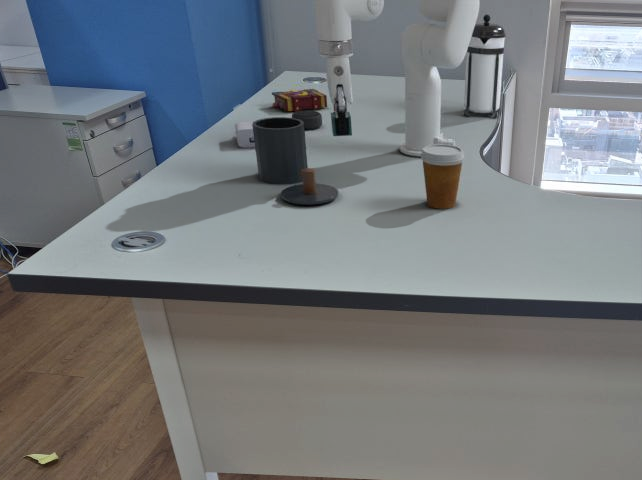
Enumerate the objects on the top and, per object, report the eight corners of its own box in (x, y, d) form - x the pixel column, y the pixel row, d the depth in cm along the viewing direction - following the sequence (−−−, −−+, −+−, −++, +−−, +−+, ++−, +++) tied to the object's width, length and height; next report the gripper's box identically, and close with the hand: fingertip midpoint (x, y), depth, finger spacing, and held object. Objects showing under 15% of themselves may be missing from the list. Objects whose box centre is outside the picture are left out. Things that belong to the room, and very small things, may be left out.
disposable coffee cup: (431, 214, 140) (432, 157, 134) (413, 200, 147) (413, 145, 140) (470, 208, 144) (473, 153, 137) (450, 194, 151) (452, 141, 144)
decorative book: (328, 108, 220) (327, 93, 217) (282, 113, 212) (281, 97, 210) (314, 102, 228) (313, 87, 225) (269, 106, 220) (268, 90, 217)
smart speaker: (325, 124, 202) (324, 110, 200) (318, 131, 195) (317, 117, 193) (297, 122, 203) (296, 109, 201) (289, 129, 196) (287, 115, 193)
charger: (268, 132, 192) (273, 146, 180) (235, 134, 189) (238, 147, 177) (266, 115, 189) (271, 128, 177) (233, 117, 187) (236, 129, 175)
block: (350, 130, 158) (349, 111, 156) (352, 135, 155) (350, 116, 152) (332, 131, 157) (330, 112, 155) (333, 136, 154) (331, 117, 151)
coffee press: (514, 116, 221) (523, 16, 204) (476, 120, 213) (482, 17, 196) (484, 105, 232) (489, 10, 216) (447, 110, 225) (449, 11, 208)
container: (307, 168, 164) (303, 116, 157) (309, 183, 154) (304, 128, 148) (259, 170, 162) (253, 117, 155) (258, 184, 152) (251, 129, 145)
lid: (336, 187, 153) (335, 160, 149) (340, 206, 142) (339, 177, 139) (281, 189, 150) (278, 162, 147) (281, 208, 140) (278, 179, 136)
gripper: (356, 54, 139) (361, 141, 150) (349, 41, 153) (354, 122, 163) (320, 55, 138) (328, 142, 148) (316, 42, 152) (324, 123, 162)
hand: (341, 130), depth 156 cm, fingers closed on block, 4 cm apart
